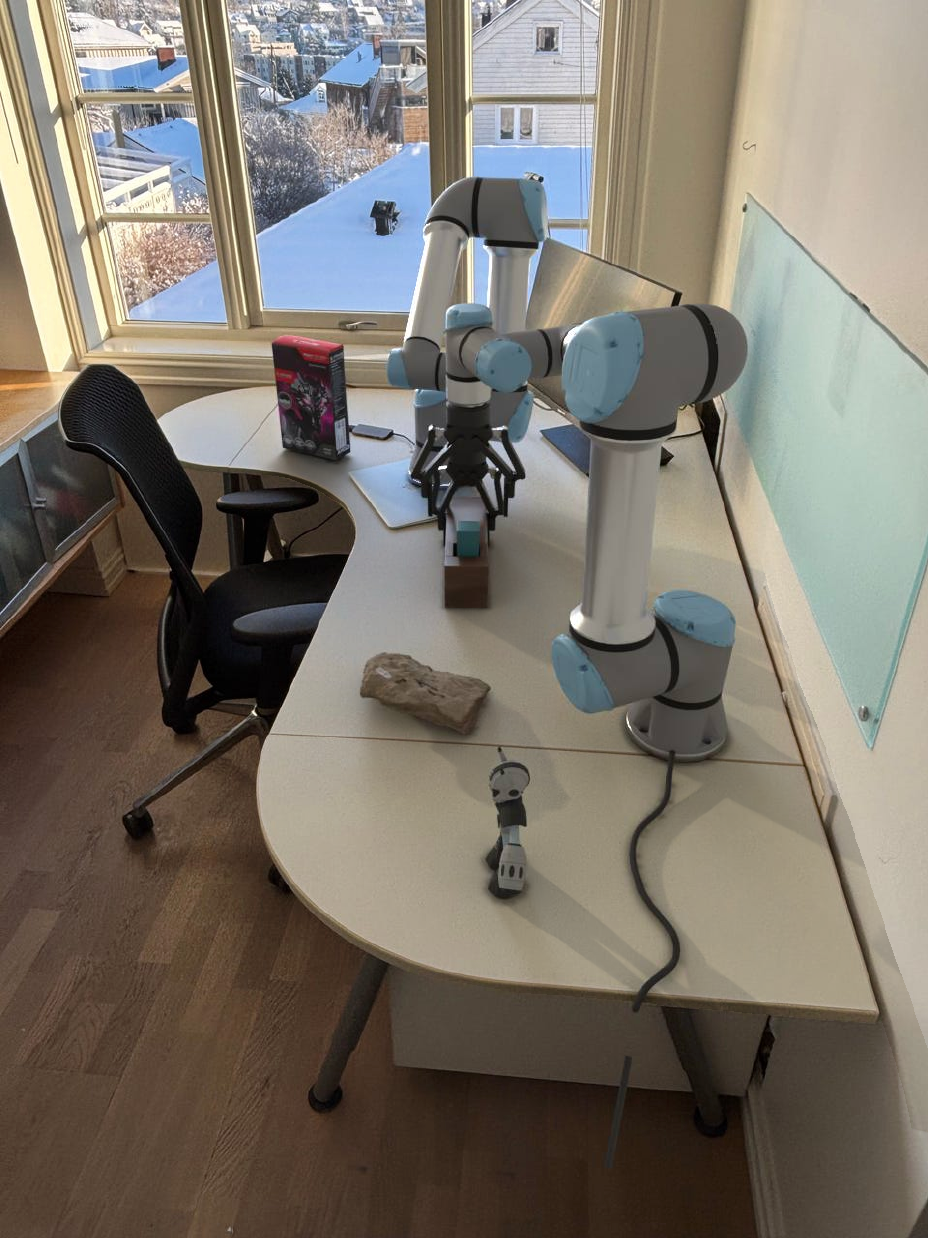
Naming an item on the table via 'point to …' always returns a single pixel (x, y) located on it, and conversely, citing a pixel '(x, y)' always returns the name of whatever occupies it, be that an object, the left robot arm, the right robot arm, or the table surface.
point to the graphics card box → (312, 396)
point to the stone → (424, 691)
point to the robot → (508, 827)
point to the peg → (467, 538)
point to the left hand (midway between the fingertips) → (466, 543)
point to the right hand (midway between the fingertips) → (467, 513)
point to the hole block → (466, 573)
